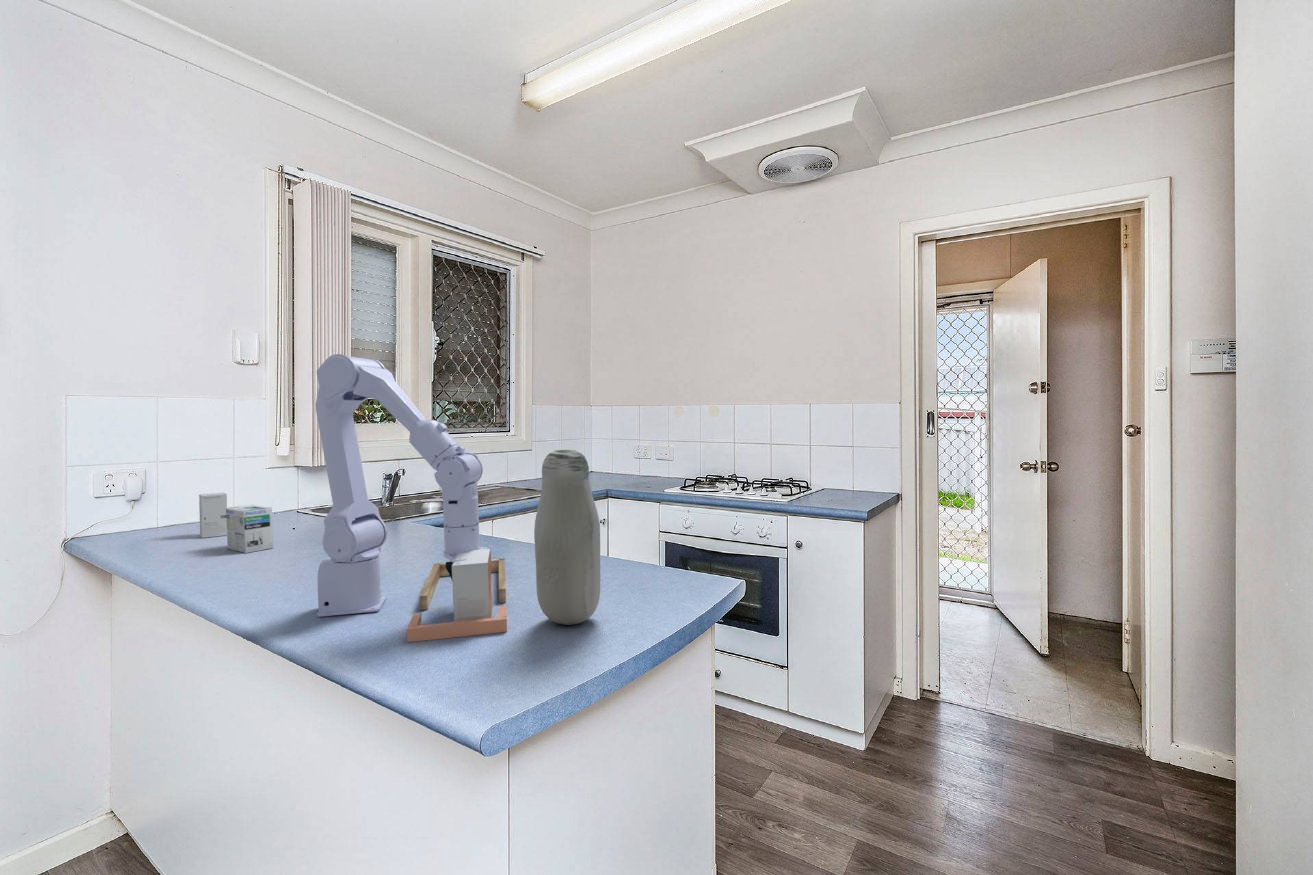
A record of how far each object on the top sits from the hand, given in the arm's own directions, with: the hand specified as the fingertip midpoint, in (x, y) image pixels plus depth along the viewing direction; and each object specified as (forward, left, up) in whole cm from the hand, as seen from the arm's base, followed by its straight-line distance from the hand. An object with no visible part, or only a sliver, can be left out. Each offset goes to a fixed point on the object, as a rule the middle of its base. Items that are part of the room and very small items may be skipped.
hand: (464, 602), depth 99 cm
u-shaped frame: (0, +14, -1) cm, 14 cm away
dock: (0, -8, -2) cm, 9 cm away
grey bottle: (+17, -10, -2) cm, 20 cm away
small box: (+2, -5, -1) cm, 5 cm away
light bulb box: (-56, +67, -2) cm, 87 cm away
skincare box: (-73, +89, -2) cm, 115 cm away
